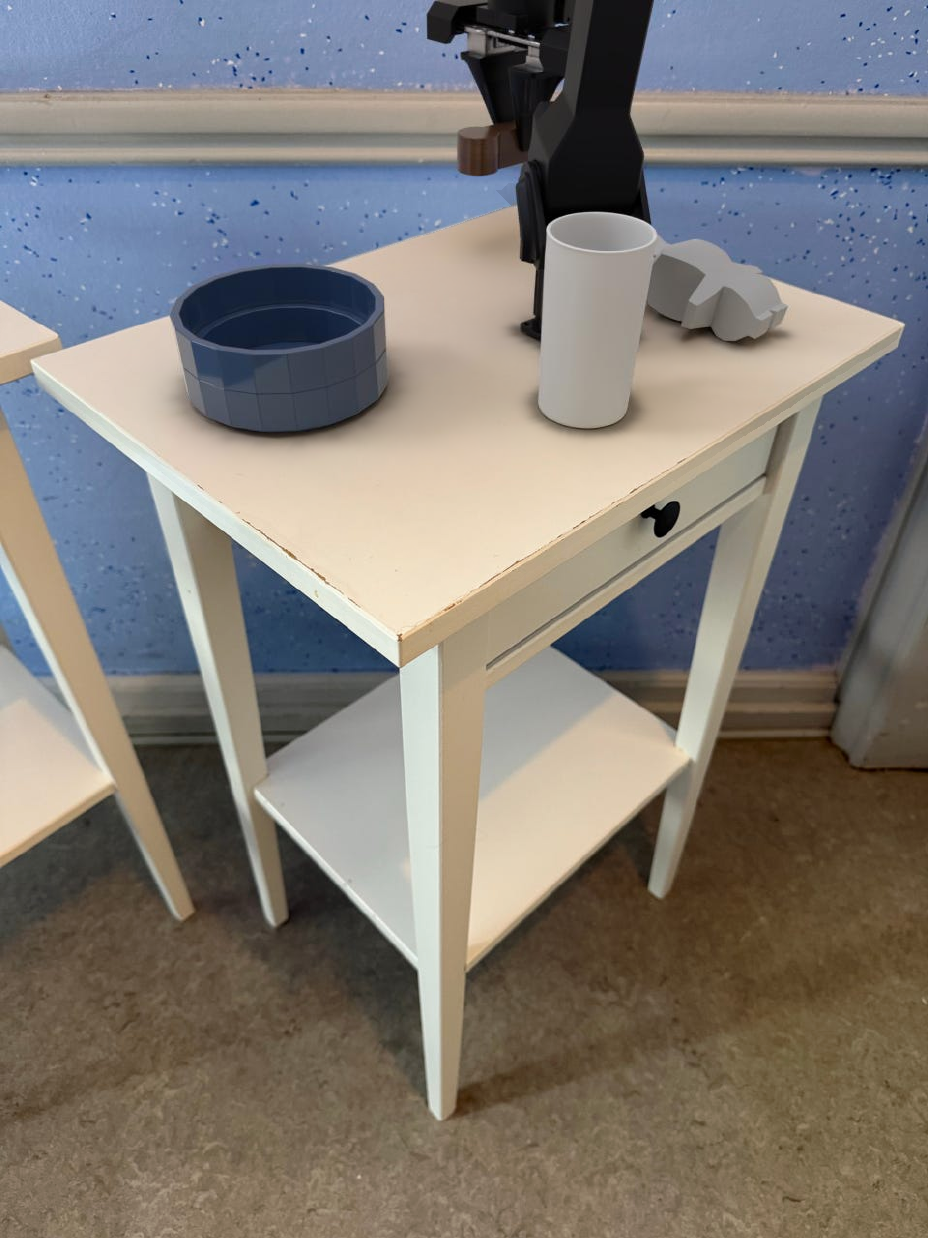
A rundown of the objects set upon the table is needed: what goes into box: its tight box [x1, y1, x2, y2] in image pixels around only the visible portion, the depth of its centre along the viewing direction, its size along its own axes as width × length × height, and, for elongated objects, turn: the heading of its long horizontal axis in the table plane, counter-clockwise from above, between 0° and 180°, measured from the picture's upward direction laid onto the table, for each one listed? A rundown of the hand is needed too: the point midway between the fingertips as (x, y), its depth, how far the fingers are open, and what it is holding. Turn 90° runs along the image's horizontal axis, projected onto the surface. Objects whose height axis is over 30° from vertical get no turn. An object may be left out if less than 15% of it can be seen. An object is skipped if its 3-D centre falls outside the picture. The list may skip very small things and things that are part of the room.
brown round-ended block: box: [456, 120, 528, 177], centre depth 80 cm, size 4×9×3 cm, turn 130°
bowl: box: [169, 263, 389, 433], centre depth 63 cm, size 14×14×6 cm
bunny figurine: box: [646, 233, 789, 342], centre depth 73 cm, size 10×5×15 cm
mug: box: [537, 212, 658, 429], centre depth 61 cm, size 10×7×12 cm, turn 142°
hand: (516, 147), depth 81 cm, fingers closed on brown round-ended block, 2 cm apart
